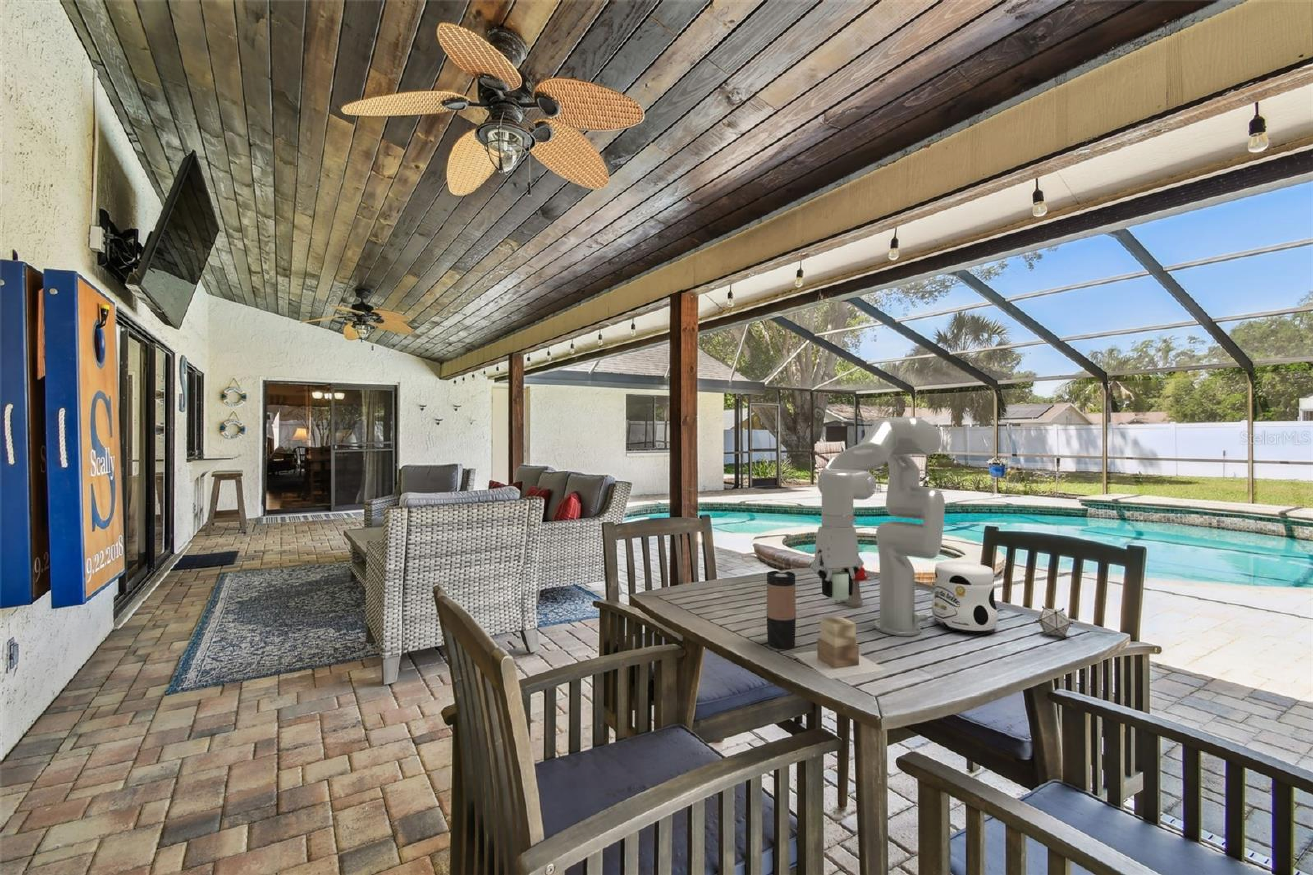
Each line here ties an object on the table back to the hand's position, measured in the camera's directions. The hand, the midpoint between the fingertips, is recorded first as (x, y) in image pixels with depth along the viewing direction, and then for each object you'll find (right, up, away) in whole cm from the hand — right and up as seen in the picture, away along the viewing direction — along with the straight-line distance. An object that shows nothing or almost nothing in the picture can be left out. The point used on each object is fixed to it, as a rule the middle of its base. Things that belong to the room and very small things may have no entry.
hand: (837, 594), depth 142 cm
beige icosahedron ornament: (+68, -18, +21) cm, 73 cm away
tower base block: (0, -17, 0) cm, 17 cm away
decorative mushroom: (+22, -18, +52) cm, 59 cm away
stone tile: (0, -18, 0) cm, 18 cm away
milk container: (+47, -18, +28) cm, 57 cm away
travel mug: (-11, -18, +12) cm, 24 cm away
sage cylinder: (0, -1, 0) cm, 1 cm away
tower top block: (0, -12, 0) cm, 12 cm away
